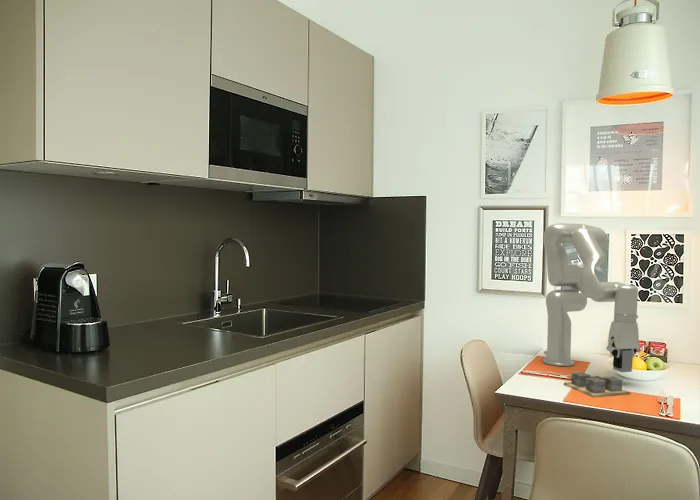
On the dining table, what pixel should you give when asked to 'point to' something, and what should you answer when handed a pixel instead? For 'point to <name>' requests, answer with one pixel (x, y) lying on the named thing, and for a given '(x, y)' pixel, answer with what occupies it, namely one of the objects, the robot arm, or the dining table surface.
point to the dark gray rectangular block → (625, 361)
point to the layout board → (596, 385)
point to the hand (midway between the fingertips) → (622, 366)
